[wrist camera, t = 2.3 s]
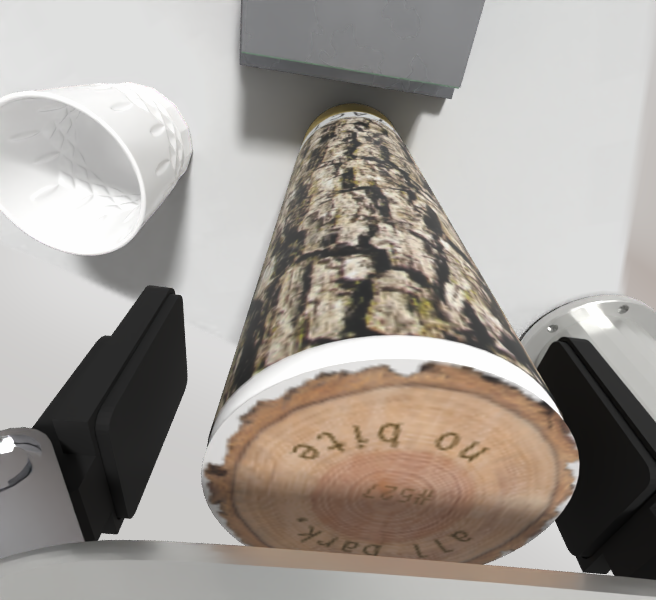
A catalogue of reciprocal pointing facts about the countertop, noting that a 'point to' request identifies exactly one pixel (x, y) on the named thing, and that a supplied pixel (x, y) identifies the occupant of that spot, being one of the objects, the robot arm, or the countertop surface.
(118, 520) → the robot arm
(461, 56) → the stand
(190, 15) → the countertop surface
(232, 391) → the paper tube
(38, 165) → the white cup
